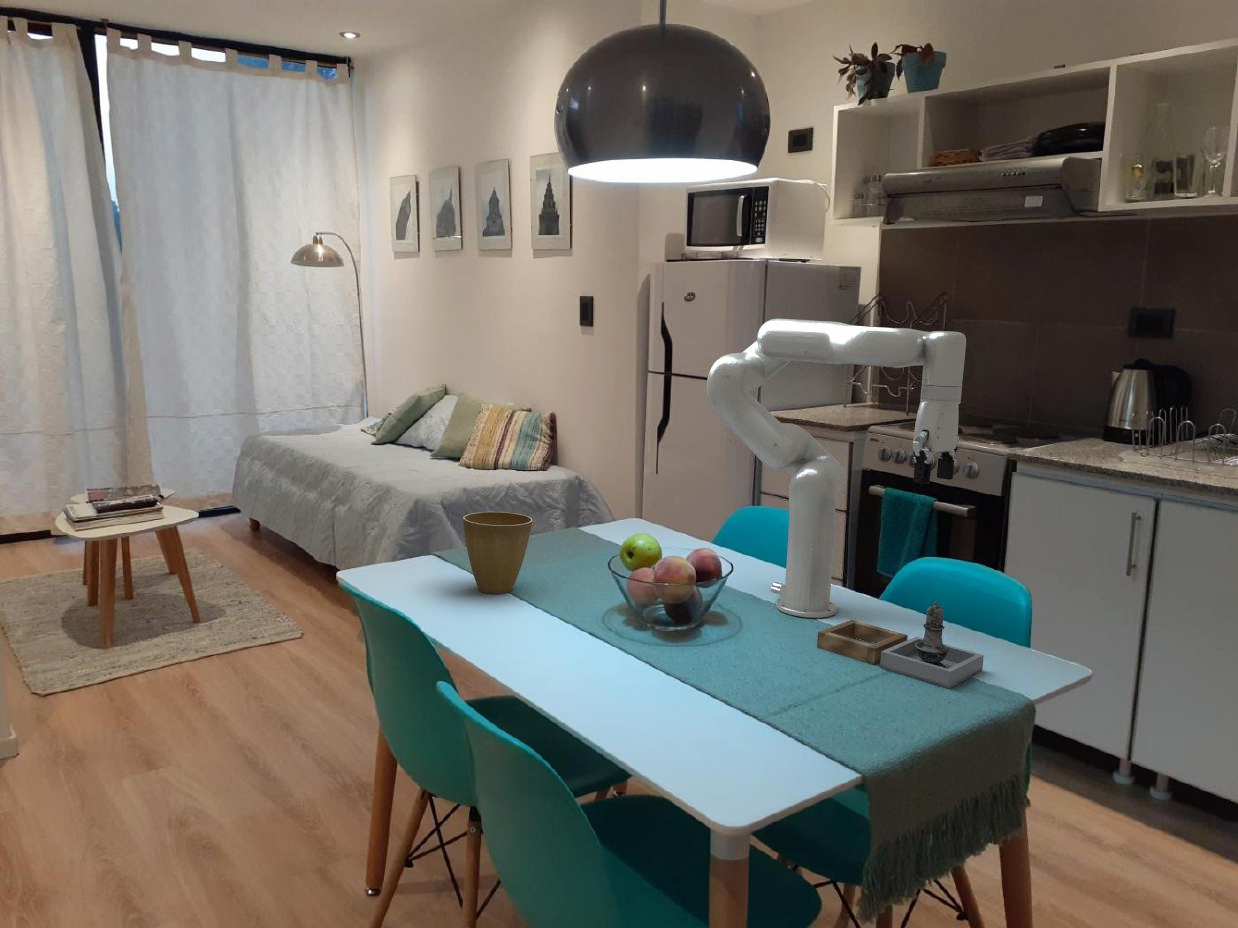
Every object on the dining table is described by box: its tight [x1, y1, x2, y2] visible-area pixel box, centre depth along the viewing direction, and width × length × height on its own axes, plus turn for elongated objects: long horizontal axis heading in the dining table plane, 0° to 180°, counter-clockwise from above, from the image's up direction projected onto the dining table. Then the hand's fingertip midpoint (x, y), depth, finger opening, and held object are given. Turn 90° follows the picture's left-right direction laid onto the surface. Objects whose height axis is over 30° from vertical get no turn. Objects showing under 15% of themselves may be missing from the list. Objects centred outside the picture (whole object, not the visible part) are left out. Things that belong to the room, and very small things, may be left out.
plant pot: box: [462, 511, 533, 595], centre depth 212 cm, size 15×15×16 cm
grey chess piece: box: [915, 600, 949, 668], centre depth 174 cm, size 6×6×12 cm
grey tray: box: [879, 636, 985, 689], centre depth 174 cm, size 13×13×3 cm
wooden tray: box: [816, 619, 909, 665], centre depth 184 cm, size 12×12×3 cm
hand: (933, 480), depth 194 cm, fingers open, 9 cm apart
